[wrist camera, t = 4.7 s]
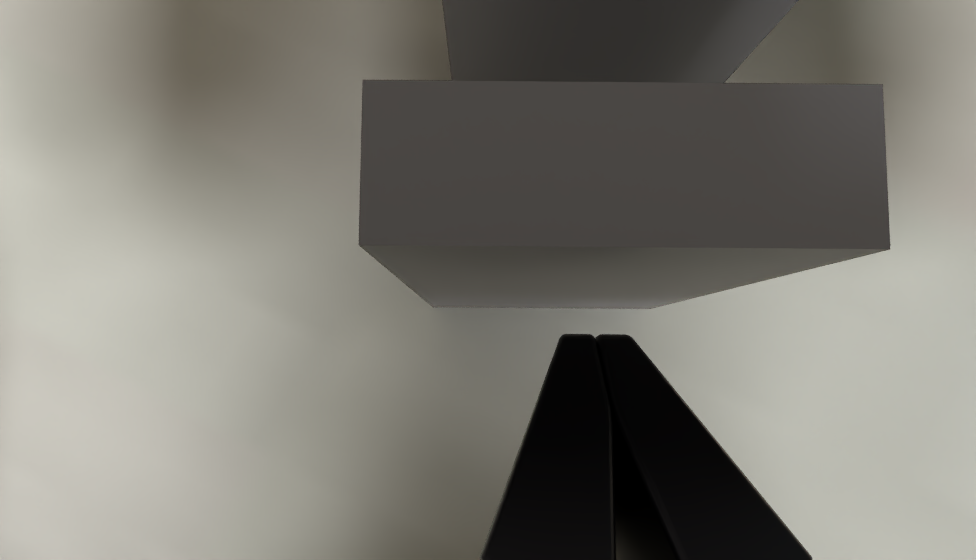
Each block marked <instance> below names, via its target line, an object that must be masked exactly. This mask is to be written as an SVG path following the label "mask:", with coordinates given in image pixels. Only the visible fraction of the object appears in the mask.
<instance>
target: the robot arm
mask: <svg viewBox="0 0 976 560" xmlns="http://www.w3.org/2000/svg"><path fill="white" fill-rule="evenodd" d="M480 560H812V557H811V555H810V554H809V553H808V552H807V550H806V549H805V548H804V547H803V546H802V544H801V543H800V542H799V541H798V539H797V538H796V537H795V536H794V535H793V533H792V532H791V531H790V530H789V528H788V527H787V526H786V525H785V524H784V522H783V521H782V520H781V519H780V517H779V516H778V515H777V514H776V513H775V511H774V510H773V509H772V508H771V507H770V505H769V504H768V503H767V502H766V500H765V499H764V498H763V497H762V496H761V494H760V493H759V492H758V491H757V489H756V488H755V487H754V486H753V485H752V483H751V482H750V481H749V480H748V478H747V477H746V476H745V475H744V474H743V472H742V471H741V470H740V469H739V467H738V466H737V465H736V464H735V463H734V461H733V460H732V459H731V458H730V456H729V455H728V454H727V453H726V452H725V450H724V449H723V448H722V447H721V446H720V444H719V443H718V442H717V441H716V439H715V438H714V437H713V436H712V435H711V433H710V432H709V431H708V430H707V428H706V427H705V426H704V425H703V424H702V422H701V421H700V420H699V419H698V417H697V416H696V415H695V414H694V413H693V411H692V410H691V409H690V408H689V406H688V405H687V404H686V403H685V402H684V400H683V399H682V398H681V397H680V395H679V394H678V393H677V392H676V391H675V389H674V388H673V387H672V386H671V385H670V383H669V382H668V381H667V380H666V378H665V377H664V376H663V375H662V374H661V372H660V371H659V370H658V369H657V367H656V366H655V365H654V364H653V363H652V361H651V360H650V359H649V358H648V356H647V355H646V354H645V353H644V352H643V350H642V349H641V348H640V347H639V345H638V344H637V343H636V342H635V341H634V339H633V338H632V337H630V336H628V335H610V334H602V335H599V336H597V337H596V338H594V336H592V335H590V334H564V335H562V336H561V337H560V339H559V342H558V344H557V347H556V350H555V353H554V355H553V358H552V361H551V364H550V366H549V369H548V372H547V375H546V377H545V380H544V383H543V385H542V388H541V391H540V394H539V396H538V399H537V402H536V405H535V407H534V410H533V413H532V416H531V418H530V421H529V424H528V427H527V429H526V432H525V435H524V438H523V440H522V443H521V446H520V449H519V451H518V454H517V457H516V459H515V462H514V465H513V468H512V470H511V473H510V476H509V479H508V481H507V484H506V487H505V490H504V492H503V495H502V498H501V501H500V503H499V506H498V509H497V512H496V514H495V517H494V520H493V523H492V525H491V528H490V531H489V533H488V536H487V539H486V542H485V544H484V547H483V550H482V553H481V555H480Z"/></svg>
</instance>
